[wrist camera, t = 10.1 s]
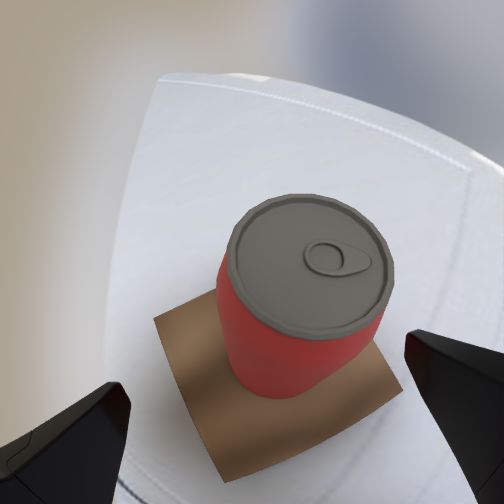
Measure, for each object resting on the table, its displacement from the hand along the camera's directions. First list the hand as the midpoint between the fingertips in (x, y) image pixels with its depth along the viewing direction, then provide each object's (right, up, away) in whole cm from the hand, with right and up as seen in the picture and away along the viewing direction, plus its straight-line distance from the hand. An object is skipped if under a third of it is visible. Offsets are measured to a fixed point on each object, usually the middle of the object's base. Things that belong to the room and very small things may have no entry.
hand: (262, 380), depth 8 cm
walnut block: (+1, -5, +14) cm, 15 cm away
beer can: (+1, -3, +11) cm, 12 cm away
